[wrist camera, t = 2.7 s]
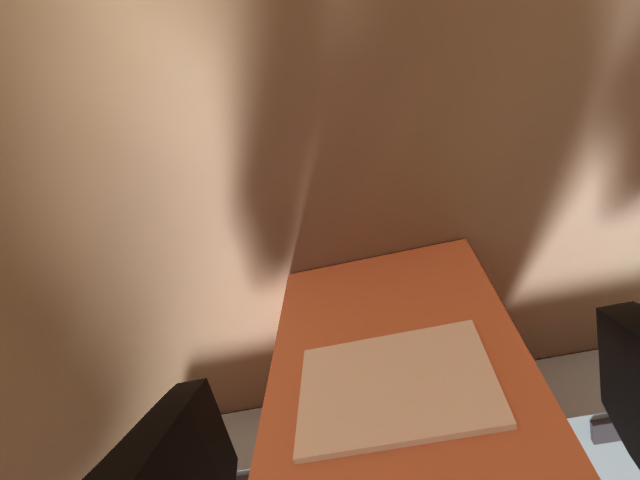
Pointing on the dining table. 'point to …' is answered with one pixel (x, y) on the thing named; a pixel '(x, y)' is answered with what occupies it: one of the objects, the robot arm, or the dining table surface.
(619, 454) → the pad
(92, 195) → the dining table surface
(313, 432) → the stub tab
